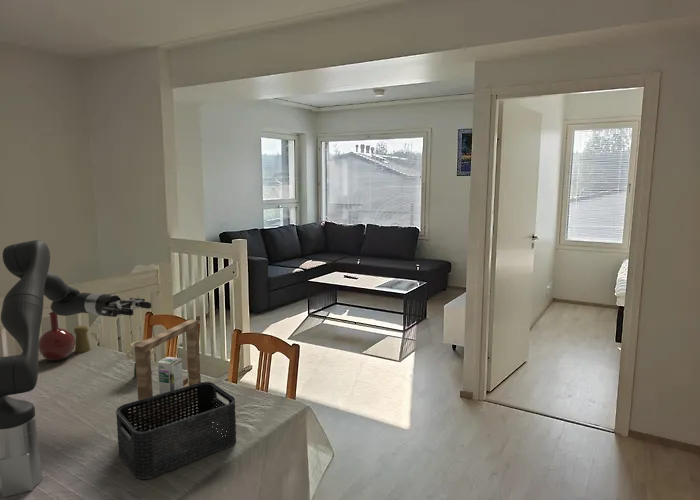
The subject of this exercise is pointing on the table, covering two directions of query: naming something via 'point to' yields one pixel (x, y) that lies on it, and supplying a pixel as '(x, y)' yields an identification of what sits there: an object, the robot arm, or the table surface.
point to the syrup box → (170, 375)
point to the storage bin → (175, 429)
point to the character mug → (134, 354)
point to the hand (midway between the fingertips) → (141, 308)
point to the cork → (81, 339)
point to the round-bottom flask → (56, 341)
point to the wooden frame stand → (145, 363)
